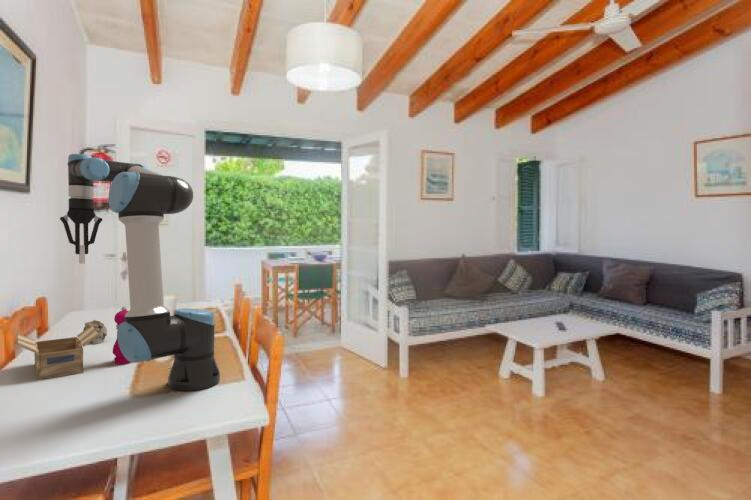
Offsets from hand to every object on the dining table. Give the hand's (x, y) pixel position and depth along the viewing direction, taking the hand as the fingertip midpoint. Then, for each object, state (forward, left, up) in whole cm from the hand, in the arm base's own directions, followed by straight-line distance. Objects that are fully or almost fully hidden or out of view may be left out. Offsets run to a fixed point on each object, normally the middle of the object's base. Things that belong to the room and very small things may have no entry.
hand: (81, 263), depth 157 cm
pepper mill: (-15, -11, -35) cm, 39 cm away
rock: (+22, -6, -35) cm, 42 cm away
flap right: (-11, 0, -24) cm, 27 cm away
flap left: (-11, +16, -24) cm, 31 cm away
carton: (-11, +8, -34) cm, 37 cm away
